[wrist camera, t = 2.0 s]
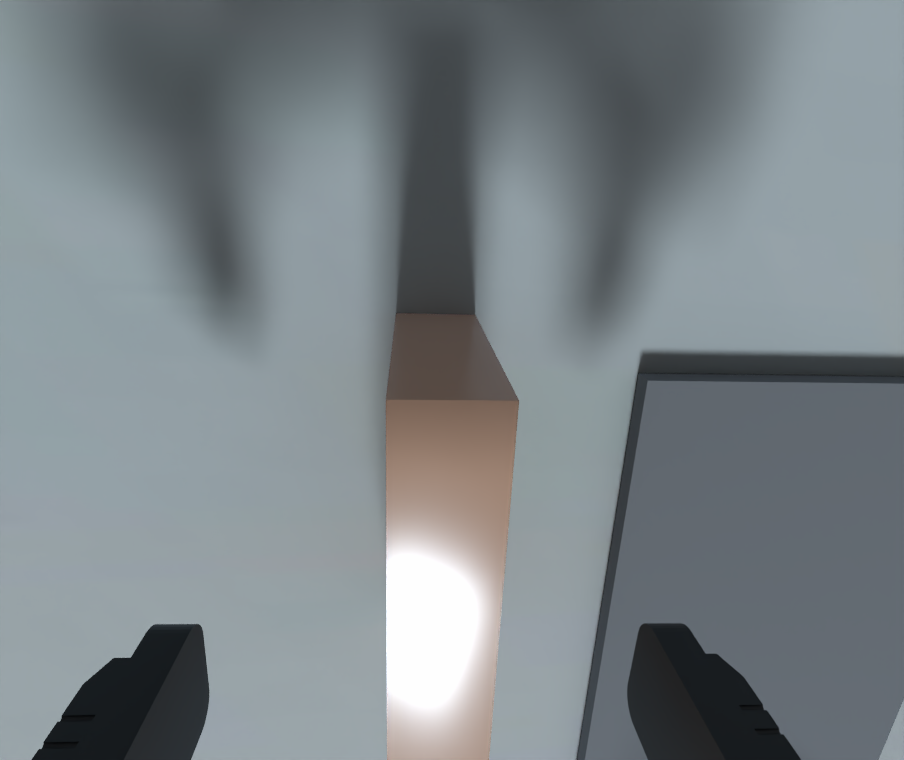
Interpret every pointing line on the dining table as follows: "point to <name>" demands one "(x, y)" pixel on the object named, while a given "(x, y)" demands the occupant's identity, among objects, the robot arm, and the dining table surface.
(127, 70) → the dining table surface
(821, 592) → the mat
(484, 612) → the block
